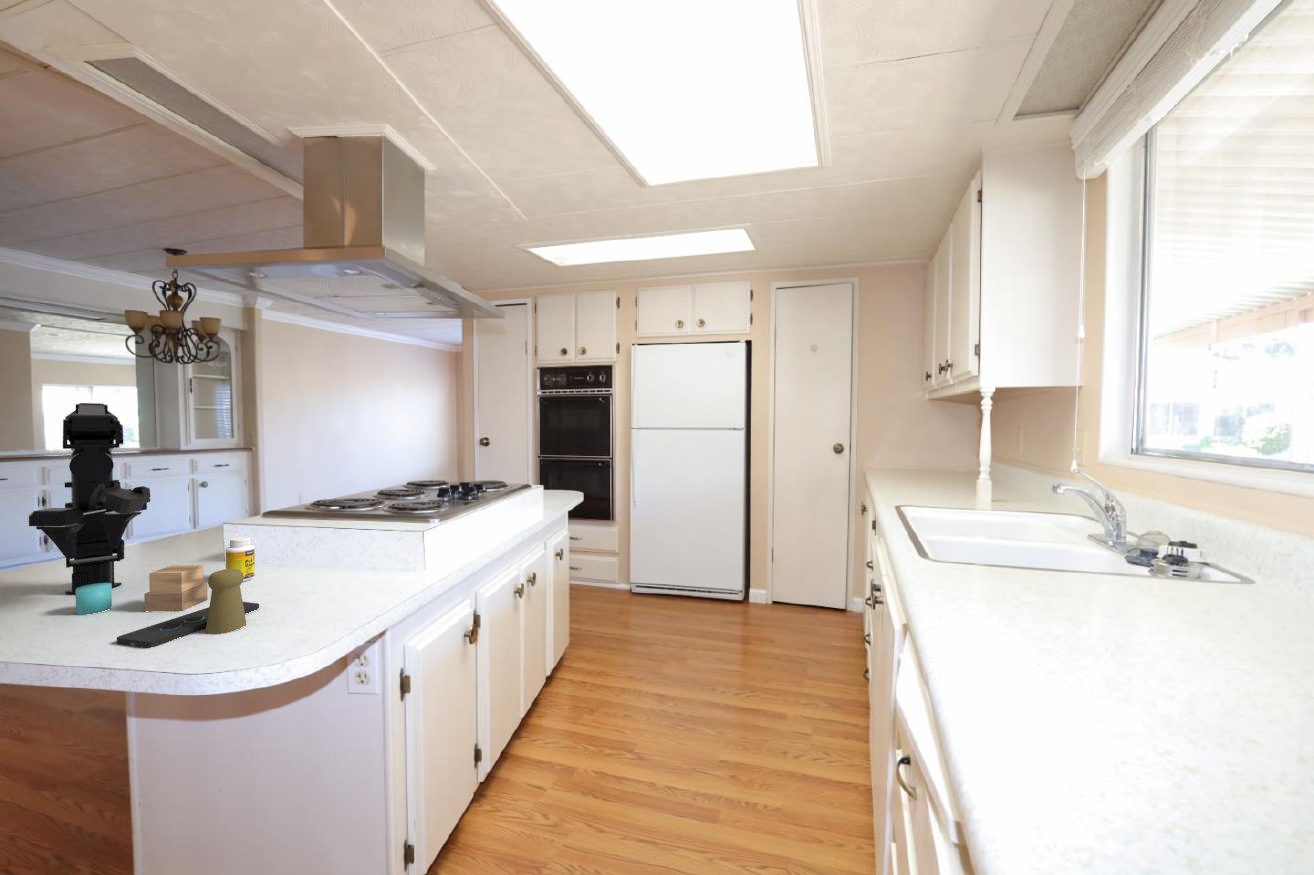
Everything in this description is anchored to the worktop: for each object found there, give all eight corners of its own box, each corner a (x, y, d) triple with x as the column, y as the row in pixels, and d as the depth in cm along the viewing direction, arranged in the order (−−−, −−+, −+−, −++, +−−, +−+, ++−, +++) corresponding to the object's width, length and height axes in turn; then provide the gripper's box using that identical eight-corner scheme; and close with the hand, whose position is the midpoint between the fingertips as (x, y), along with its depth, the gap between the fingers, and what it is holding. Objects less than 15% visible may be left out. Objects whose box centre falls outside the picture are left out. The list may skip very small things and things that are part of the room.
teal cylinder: (92, 606, 109) (91, 582, 109) (118, 606, 110) (118, 582, 110) (68, 615, 104) (67, 590, 104) (96, 615, 105) (95, 590, 105)
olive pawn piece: (212, 636, 95) (212, 576, 95) (199, 629, 99) (199, 571, 98) (252, 626, 101) (251, 569, 100) (238, 619, 104) (238, 564, 103)
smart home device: (113, 636, 92) (229, 599, 111) (113, 646, 92) (229, 607, 111) (149, 641, 90) (261, 603, 110) (149, 651, 90) (261, 611, 110)
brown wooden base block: (172, 601, 114) (172, 583, 114) (207, 600, 114) (207, 582, 114) (144, 613, 107) (144, 593, 107) (182, 612, 107) (182, 593, 107)
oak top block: (172, 583, 113) (172, 565, 113) (203, 583, 114) (203, 564, 114) (149, 592, 107) (149, 573, 107) (181, 592, 108) (181, 572, 108)
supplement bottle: (247, 582, 126) (247, 540, 126) (220, 584, 125) (220, 541, 125) (259, 576, 132) (259, 535, 132) (233, 577, 131) (233, 536, 130)
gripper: (91, 482, 98) (93, 565, 98) (173, 472, 116) (173, 542, 117) (24, 481, 96) (26, 565, 97) (117, 471, 115) (118, 542, 115)
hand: (93, 552), depth 107 cm, fingers open, 9 cm apart
